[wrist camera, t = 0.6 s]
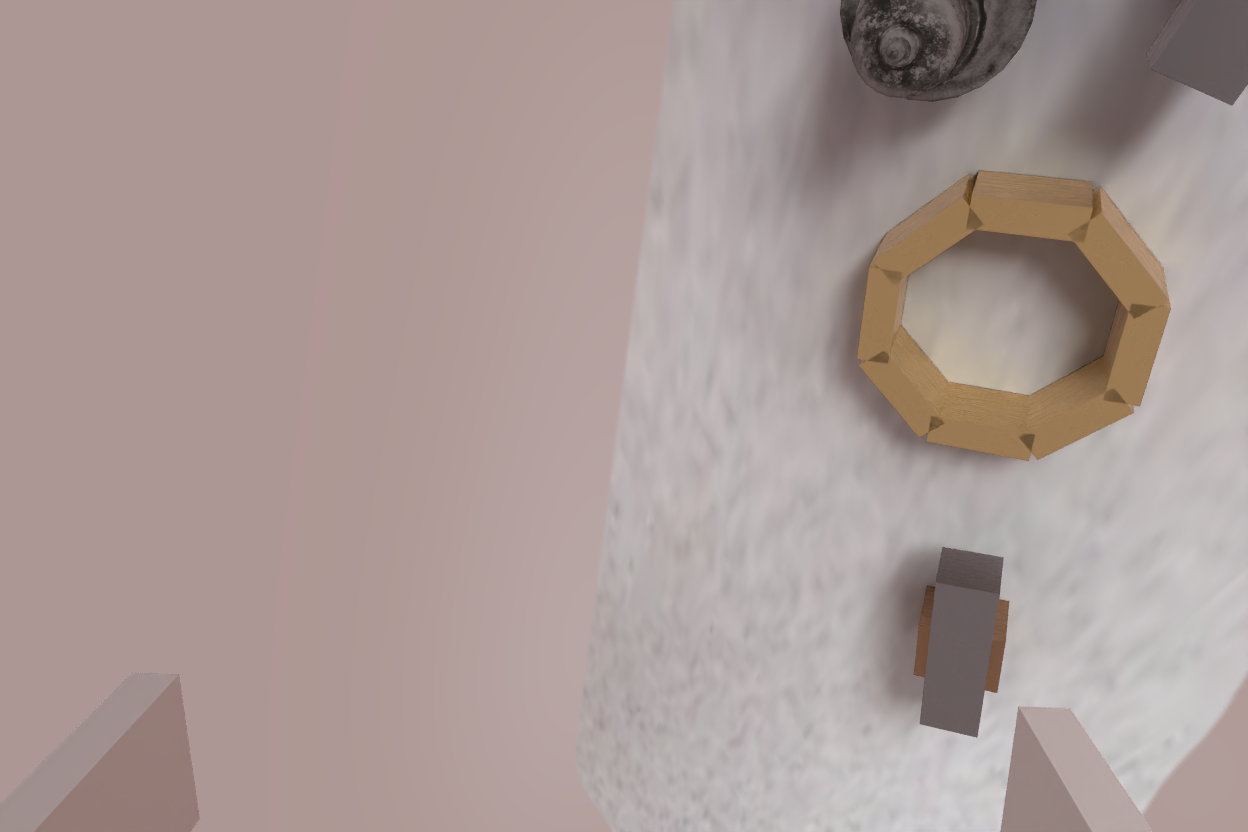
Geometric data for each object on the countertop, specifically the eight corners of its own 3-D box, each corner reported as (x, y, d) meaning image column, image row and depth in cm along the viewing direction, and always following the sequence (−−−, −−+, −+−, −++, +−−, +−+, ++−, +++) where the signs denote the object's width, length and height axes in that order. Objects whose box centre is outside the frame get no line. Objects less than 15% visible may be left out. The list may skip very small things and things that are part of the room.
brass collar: (892, 161, 36) (879, 184, 34) (1190, 191, 33) (1198, 219, 30) (860, 392, 41) (847, 426, 39) (1114, 437, 38) (1117, 477, 36)
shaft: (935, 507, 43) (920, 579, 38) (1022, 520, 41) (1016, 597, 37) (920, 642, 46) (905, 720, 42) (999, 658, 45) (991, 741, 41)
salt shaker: (884, 101, 35) (813, 200, 26) (839, -66, 33) (744, -25, 24) (1057, 46, 32) (1049, 135, 23) (1020, -141, 30) (994, -129, 21)
